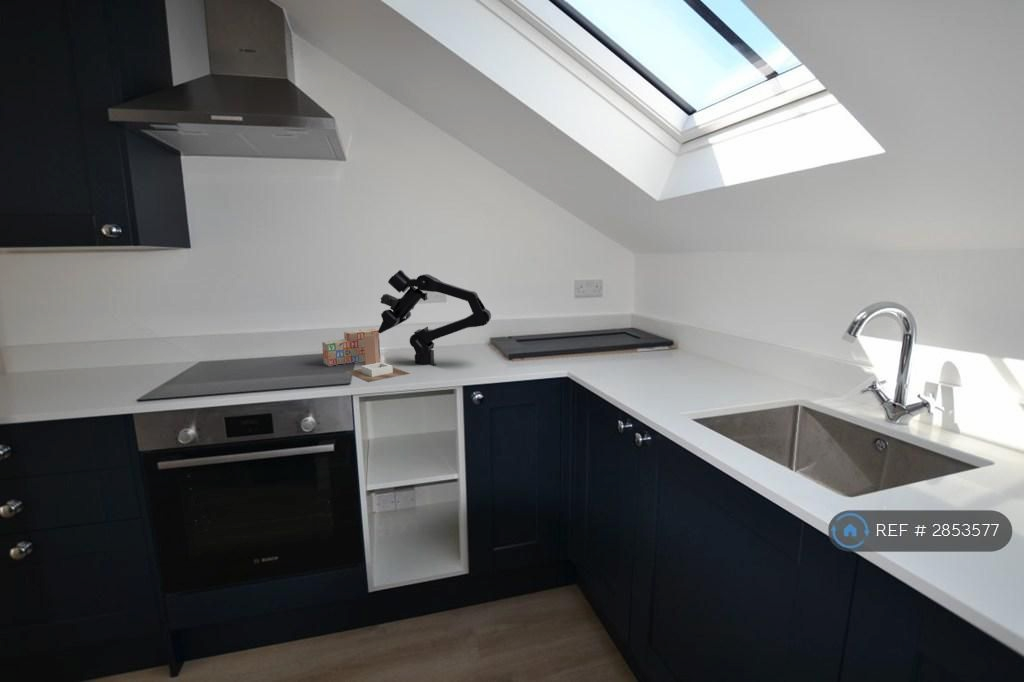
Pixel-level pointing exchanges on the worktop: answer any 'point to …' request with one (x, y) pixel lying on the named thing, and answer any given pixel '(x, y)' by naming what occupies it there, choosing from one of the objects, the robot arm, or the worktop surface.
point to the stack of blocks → (347, 347)
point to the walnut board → (368, 378)
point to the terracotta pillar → (371, 349)
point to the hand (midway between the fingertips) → (383, 330)
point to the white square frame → (377, 369)
